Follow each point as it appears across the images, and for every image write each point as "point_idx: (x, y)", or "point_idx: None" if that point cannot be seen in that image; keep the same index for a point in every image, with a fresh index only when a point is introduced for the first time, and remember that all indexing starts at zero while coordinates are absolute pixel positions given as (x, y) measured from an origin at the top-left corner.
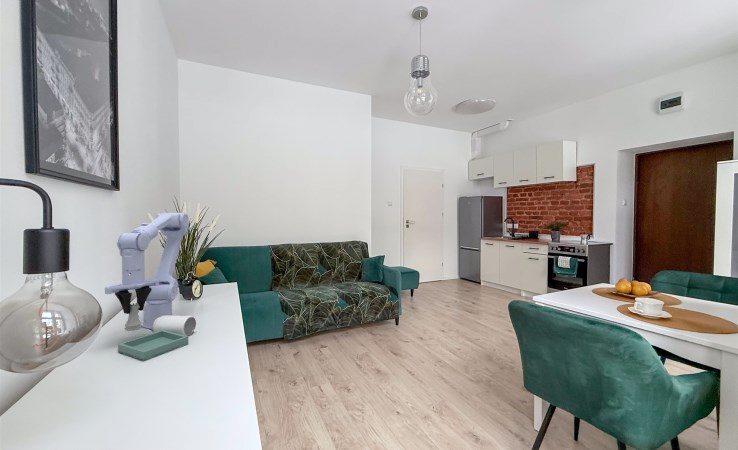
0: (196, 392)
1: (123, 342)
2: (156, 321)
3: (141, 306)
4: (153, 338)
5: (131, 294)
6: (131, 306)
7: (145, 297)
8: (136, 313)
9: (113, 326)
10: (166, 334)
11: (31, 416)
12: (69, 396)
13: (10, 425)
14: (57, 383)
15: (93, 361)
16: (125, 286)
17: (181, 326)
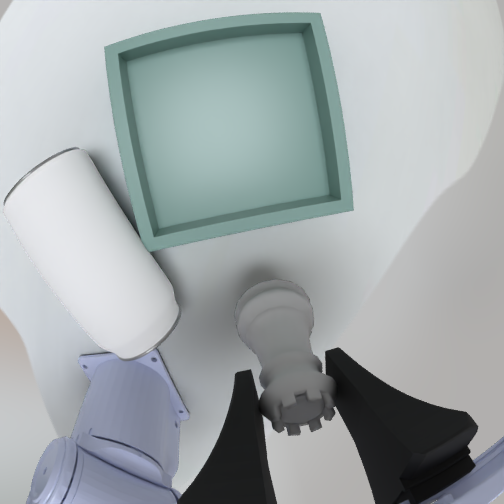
0: None
1: (333, 212)
2: (158, 317)
3: (254, 389)
4: (199, 221)
5: (410, 445)
6: (328, 391)
7: (232, 448)
8: (282, 349)
9: None
10: (146, 197)
11: (488, 20)
12: (459, 22)
13: (500, 26)
14: (472, 111)
15: (404, 185)
16: (489, 497)
17: (76, 156)
